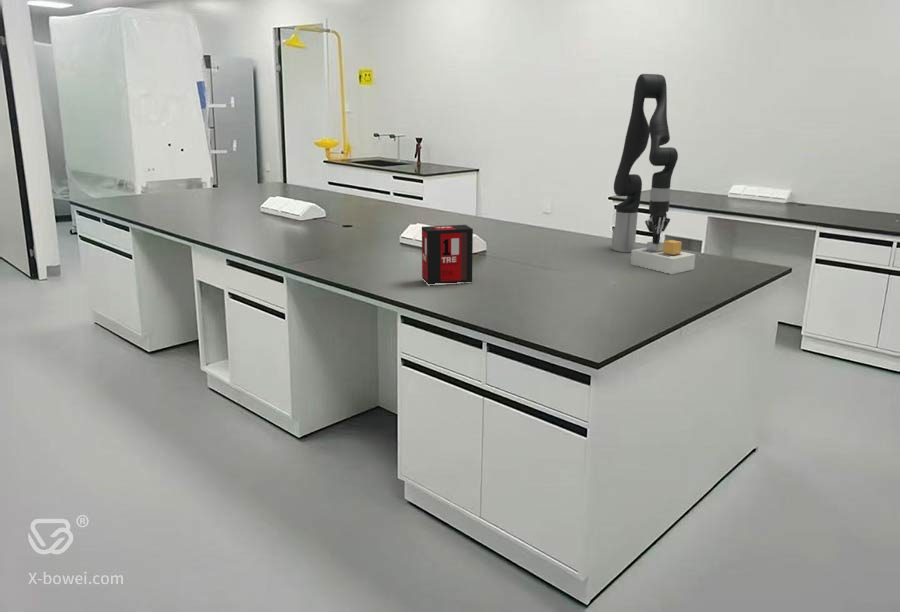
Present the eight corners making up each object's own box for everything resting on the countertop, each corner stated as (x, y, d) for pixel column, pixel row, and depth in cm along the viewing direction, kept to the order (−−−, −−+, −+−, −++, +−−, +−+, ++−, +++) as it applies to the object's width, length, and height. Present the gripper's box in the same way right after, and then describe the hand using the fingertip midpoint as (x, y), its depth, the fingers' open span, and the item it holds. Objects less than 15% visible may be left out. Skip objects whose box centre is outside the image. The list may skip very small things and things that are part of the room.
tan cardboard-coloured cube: (662, 252, 268) (663, 241, 267) (670, 251, 271) (671, 239, 270) (672, 254, 265) (673, 243, 263) (680, 253, 267) (681, 241, 266)
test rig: (630, 264, 277) (631, 249, 275) (652, 260, 285) (654, 245, 283) (671, 274, 261) (673, 258, 259) (693, 269, 269) (695, 254, 267)
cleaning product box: (465, 277, 256) (465, 224, 250) (472, 283, 248) (472, 228, 242) (422, 280, 252) (421, 226, 246) (427, 286, 244) (427, 231, 238)
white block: (646, 253, 275) (646, 242, 274) (653, 251, 278) (654, 241, 277) (655, 255, 271) (656, 244, 270) (663, 254, 274) (664, 242, 273)
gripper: (662, 197, 275) (658, 239, 280) (641, 199, 268) (637, 243, 273) (678, 199, 269) (674, 242, 274) (656, 201, 262) (652, 246, 267)
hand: (655, 242), depth 273 cm, fingers closed
